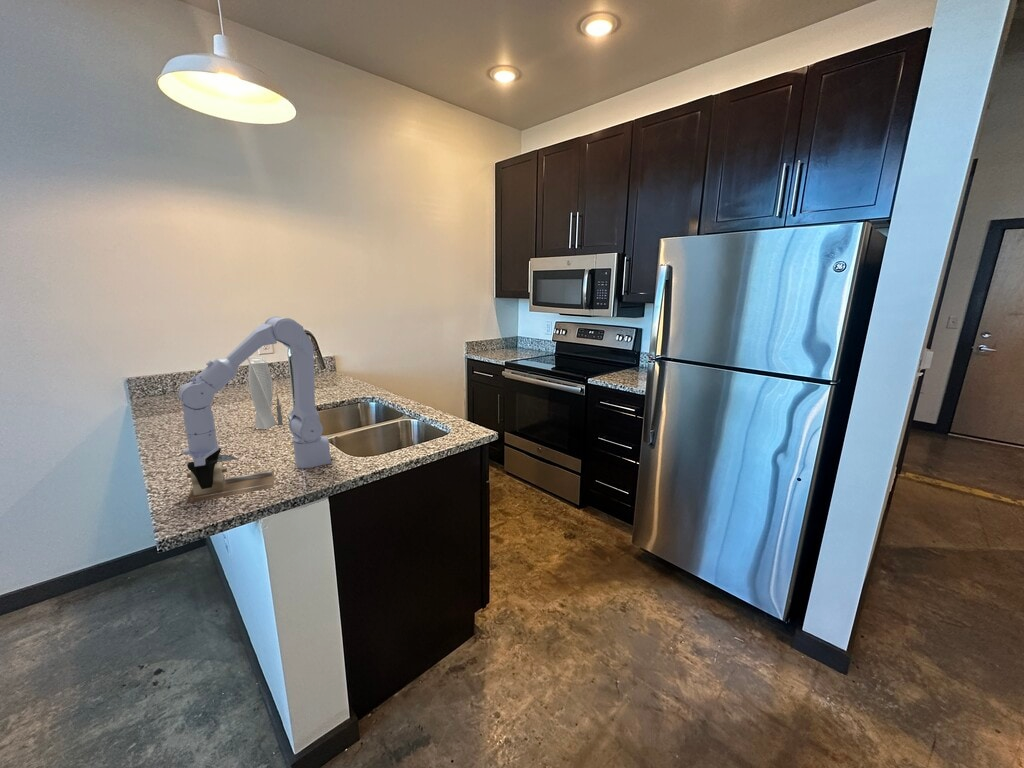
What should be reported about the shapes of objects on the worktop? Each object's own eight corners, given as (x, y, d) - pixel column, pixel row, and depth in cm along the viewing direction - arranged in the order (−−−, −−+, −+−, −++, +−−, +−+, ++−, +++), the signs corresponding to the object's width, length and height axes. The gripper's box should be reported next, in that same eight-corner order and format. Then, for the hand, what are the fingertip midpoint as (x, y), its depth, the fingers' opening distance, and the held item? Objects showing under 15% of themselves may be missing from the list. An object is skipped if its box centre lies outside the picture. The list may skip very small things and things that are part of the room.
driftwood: (198, 459, 127) (197, 453, 126) (223, 452, 132) (222, 446, 132) (229, 477, 116) (228, 470, 115) (254, 468, 121) (253, 462, 121)
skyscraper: (267, 432, 151) (258, 357, 145) (249, 431, 153) (239, 356, 147) (284, 425, 159) (276, 354, 153) (266, 424, 161) (257, 353, 155)
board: (274, 475, 115) (273, 466, 115) (274, 492, 105) (273, 483, 105) (195, 488, 107) (194, 479, 106) (186, 509, 97) (184, 499, 96)
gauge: (230, 483, 107) (226, 461, 106) (228, 489, 103) (225, 467, 102) (191, 489, 103) (188, 467, 102) (188, 496, 100) (184, 473, 98)
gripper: (186, 425, 104) (194, 474, 107) (173, 443, 92) (183, 498, 95) (219, 421, 108) (226, 469, 111) (212, 438, 95) (220, 491, 98)
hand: (209, 482), depth 103 cm, fingers open, 6 cm apart
